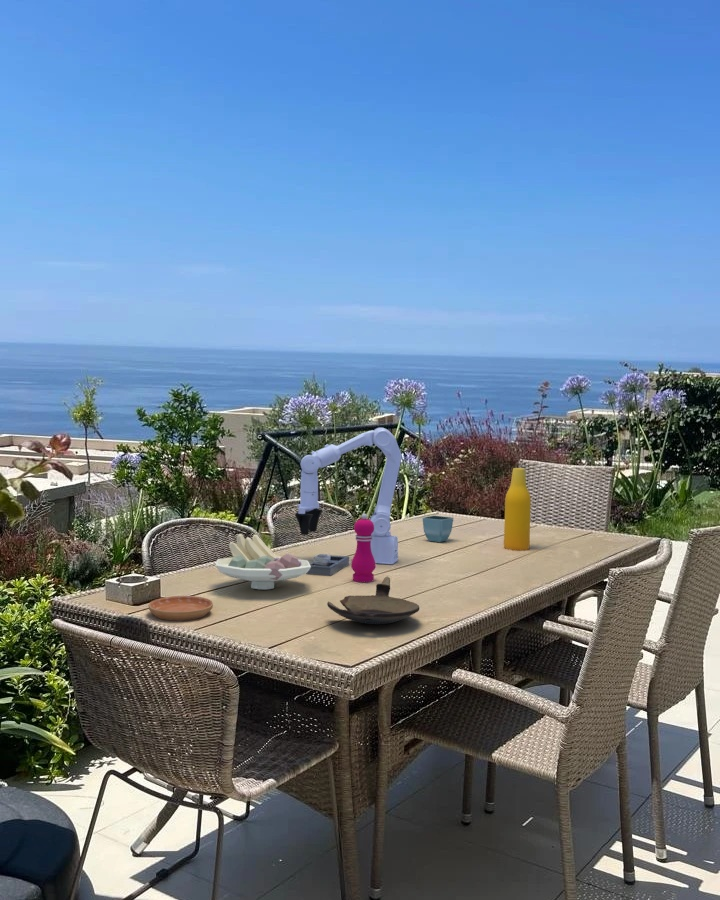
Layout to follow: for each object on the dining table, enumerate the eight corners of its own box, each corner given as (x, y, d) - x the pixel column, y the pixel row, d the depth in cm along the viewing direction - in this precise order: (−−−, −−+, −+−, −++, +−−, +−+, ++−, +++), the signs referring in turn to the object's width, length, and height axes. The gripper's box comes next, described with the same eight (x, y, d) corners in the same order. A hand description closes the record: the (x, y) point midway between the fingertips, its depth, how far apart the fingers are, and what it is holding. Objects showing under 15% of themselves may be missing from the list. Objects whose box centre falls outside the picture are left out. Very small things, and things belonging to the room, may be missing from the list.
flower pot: (433, 538, 347) (433, 515, 346) (453, 541, 342) (454, 517, 341) (421, 541, 340) (421, 517, 339) (441, 544, 335) (442, 520, 334)
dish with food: (250, 573, 278) (250, 527, 276) (329, 584, 265) (330, 536, 264) (193, 591, 253) (193, 541, 252) (278, 604, 240) (278, 551, 239)
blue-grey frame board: (349, 564, 294) (349, 556, 294) (330, 575, 276) (330, 567, 276) (325, 562, 296) (325, 555, 296) (305, 573, 278) (305, 565, 278)
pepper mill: (363, 576, 276) (364, 511, 275) (380, 580, 271) (381, 514, 269) (346, 579, 271) (347, 513, 270) (363, 583, 266) (364, 516, 264)
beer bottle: (534, 549, 327) (537, 469, 325) (516, 551, 322) (518, 470, 320) (516, 545, 335) (519, 466, 333) (498, 547, 330) (500, 467, 327)
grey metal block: (330, 571, 283) (330, 554, 283) (326, 573, 279) (326, 556, 279) (318, 570, 284) (318, 553, 284) (313, 572, 280) (314, 555, 280)
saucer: (210, 623, 221) (210, 611, 221) (143, 623, 220) (143, 611, 220) (215, 606, 237) (215, 595, 237) (153, 606, 236) (153, 595, 235)
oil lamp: (307, 626, 219) (308, 594, 219) (372, 602, 244) (373, 573, 244) (387, 641, 207) (387, 608, 207) (447, 614, 232) (447, 584, 232)
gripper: (305, 488, 305) (304, 528, 306) (289, 493, 291) (289, 535, 292) (325, 489, 303) (324, 530, 303) (310, 494, 289) (310, 536, 290)
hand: (308, 532), depth 297 cm, fingers open, 7 cm apart
